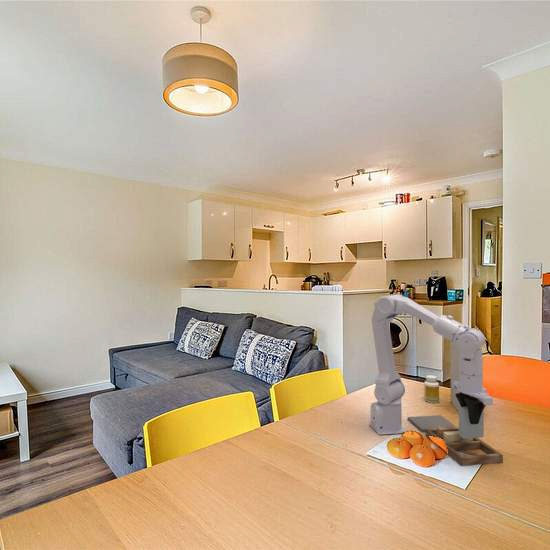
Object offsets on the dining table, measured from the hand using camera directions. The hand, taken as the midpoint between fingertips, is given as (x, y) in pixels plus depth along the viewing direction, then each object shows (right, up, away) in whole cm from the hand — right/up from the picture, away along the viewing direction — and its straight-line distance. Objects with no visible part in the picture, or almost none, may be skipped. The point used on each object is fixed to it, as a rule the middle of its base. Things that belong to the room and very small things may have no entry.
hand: (471, 421), depth 101 cm
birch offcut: (-1, -10, +6) cm, 12 cm away
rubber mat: (-2, -9, +21) cm, 23 cm away
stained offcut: (-1, -10, +10) cm, 14 cm away
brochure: (+15, -9, +34) cm, 38 cm away
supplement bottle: (+7, -9, +43) cm, 45 cm away
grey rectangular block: (0, -4, 0) cm, 4 cm away
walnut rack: (0, -10, +5) cm, 11 cm away
